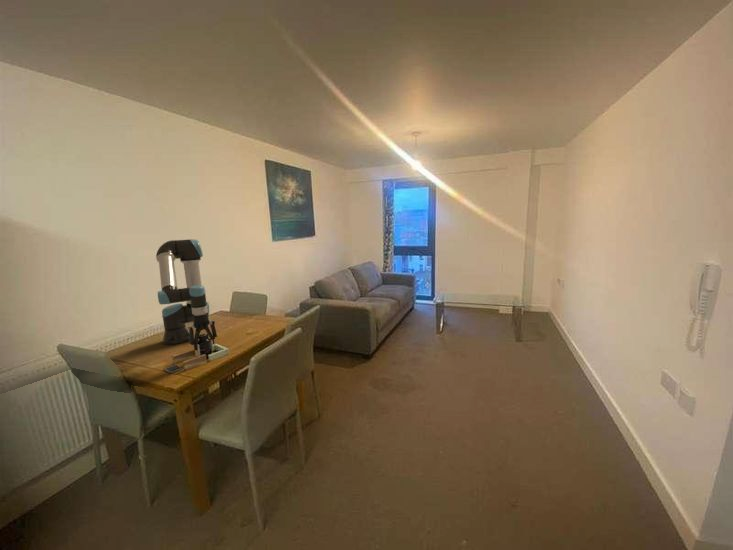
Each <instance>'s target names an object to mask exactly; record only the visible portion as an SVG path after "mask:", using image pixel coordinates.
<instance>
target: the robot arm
mask: <svg viewBox="0 0 733 550" xmlns="http://www.w3.org/2000/svg"><path fill="white" fill-rule="evenodd" d="M203 256H204V255H203V250H202V247H201V244H200V241H199V240H198V239H194V238H193V239H175V240H174V239H172V240H168V241H166V242H164V243H163V244H161V245H160V246H159V247H158V250H157V251H156V257H155V259H156V262H157V263H158V267H159V275H160V277H159V278H160V285H161V287H160V288H161V290H159V291H158V292H157V299H158V304H159V305H168V306H166V307H164V308H163V309H162V310H161V313H162V315H161V317H162V321H163V322H162V323H163V327H164V329H163V330H164V332H163V337H162V342H163V345H166V346H172V345H179V344H182V343H185V342H187V341H188V342H189V345H191V346H193V349H194V350H195V354H196V355H197V357H198V356H200V348H199V344H197V343H198V340H199V335H201V334H200V333H201V331H203V330H204V331H205V332H206V334H208V338H209V339H210V340H211V347H212V352H213V351H215V350H214V348H213V345H214V344H215V338H217V337H218V334H217V330H216V327H215V323H216V321H215V320H209V317H210V303H209V301H207V296H206V288H205V286H204V285H202V280H201V272H200V271H201V270H200V265H199V263H200V261H201V259H202V257H203ZM176 259H177V260H178V259H179V260H180V262H181V263H182V264H183V268H184V269H183V270H184V278H185V283H186V284H185V285H186V287H183V288H178V283H177V276H176V275H177V274H176V269H175V268H176V267H175V261H176ZM183 302H185V303H186V305H183ZM170 304H171V305H170ZM189 323H192V324H193V325H191V326H188V327H187V326H186V324H189ZM209 326H210V327H209ZM187 328H188V329H187ZM194 329H195V331H194Z"/></svg>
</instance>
